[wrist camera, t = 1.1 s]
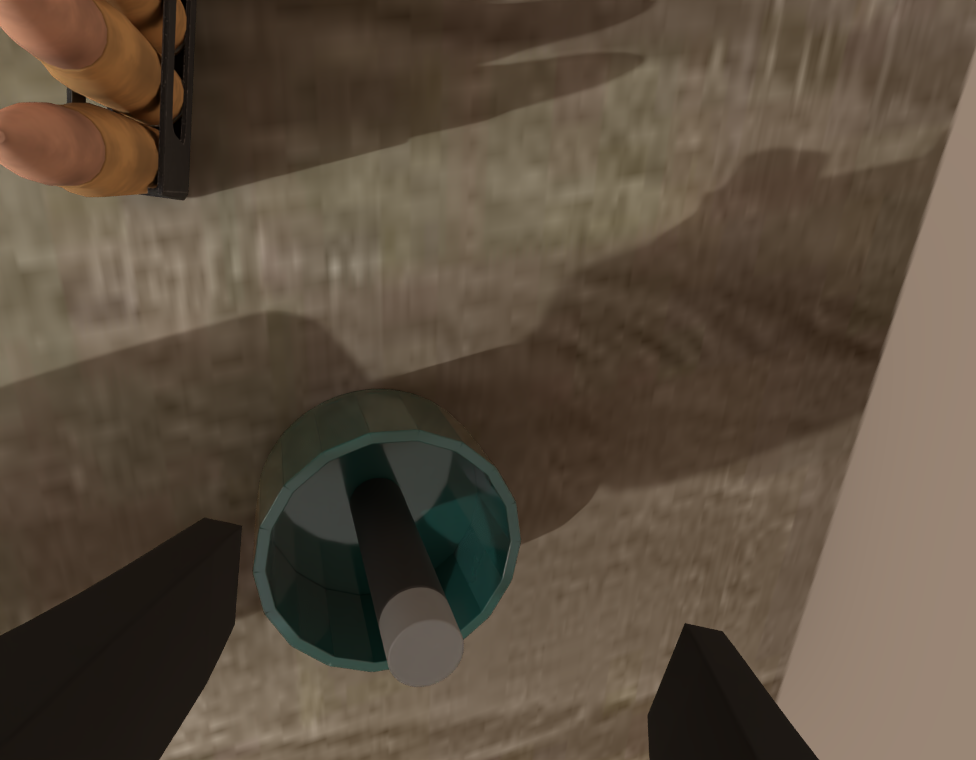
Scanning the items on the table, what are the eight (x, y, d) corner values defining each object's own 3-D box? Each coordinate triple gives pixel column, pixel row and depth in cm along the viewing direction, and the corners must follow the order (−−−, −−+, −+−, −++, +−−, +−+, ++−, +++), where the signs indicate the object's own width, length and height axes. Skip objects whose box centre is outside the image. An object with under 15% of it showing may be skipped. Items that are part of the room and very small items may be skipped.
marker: (380, 535, 24) (430, 699, 16) (338, 507, 23) (371, 667, 16) (413, 495, 24) (479, 641, 16) (373, 467, 23) (422, 606, 16)
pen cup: (438, 611, 26) (467, 686, 22) (225, 571, 23) (216, 650, 19) (513, 423, 25) (558, 469, 21) (298, 358, 22) (305, 396, 18)
